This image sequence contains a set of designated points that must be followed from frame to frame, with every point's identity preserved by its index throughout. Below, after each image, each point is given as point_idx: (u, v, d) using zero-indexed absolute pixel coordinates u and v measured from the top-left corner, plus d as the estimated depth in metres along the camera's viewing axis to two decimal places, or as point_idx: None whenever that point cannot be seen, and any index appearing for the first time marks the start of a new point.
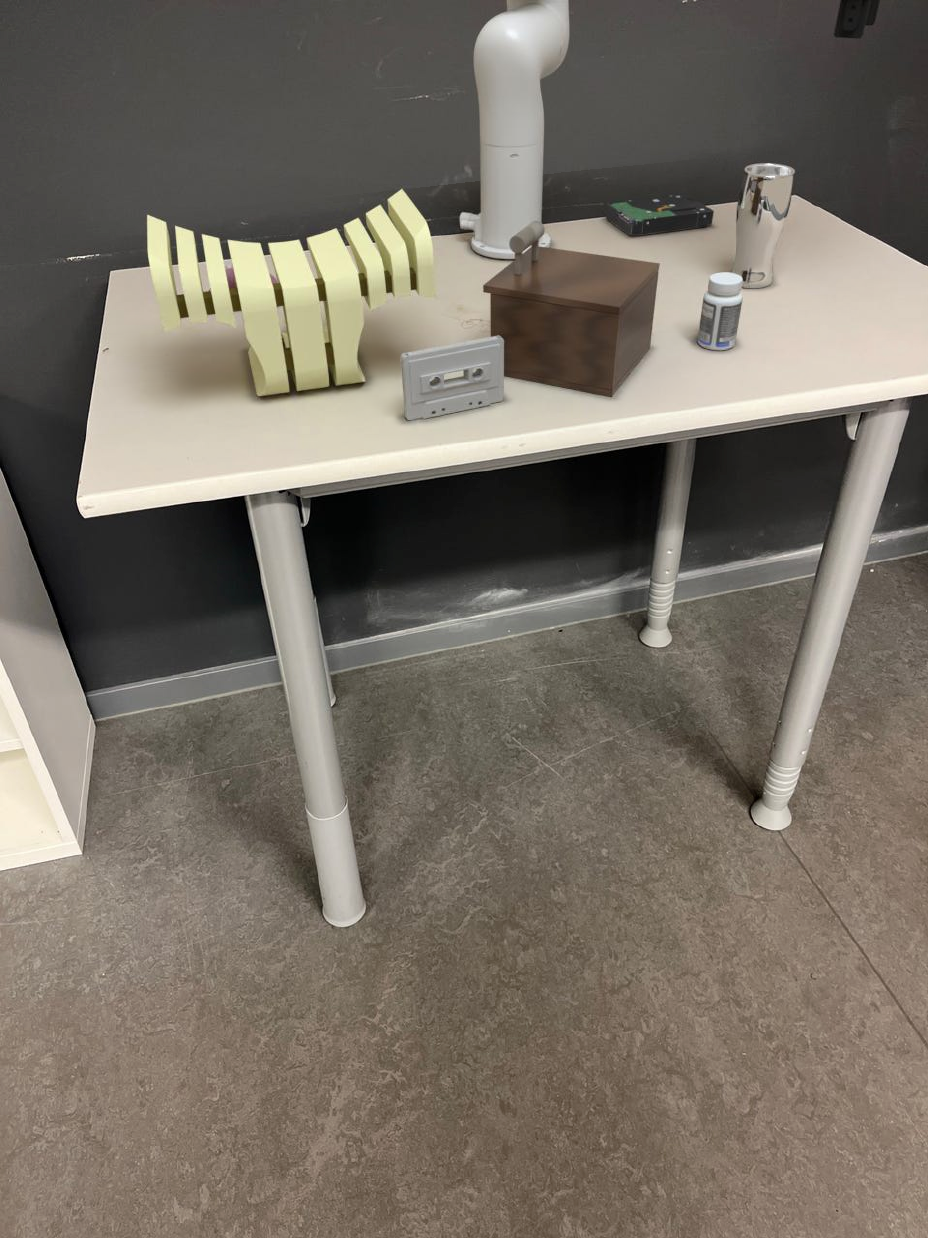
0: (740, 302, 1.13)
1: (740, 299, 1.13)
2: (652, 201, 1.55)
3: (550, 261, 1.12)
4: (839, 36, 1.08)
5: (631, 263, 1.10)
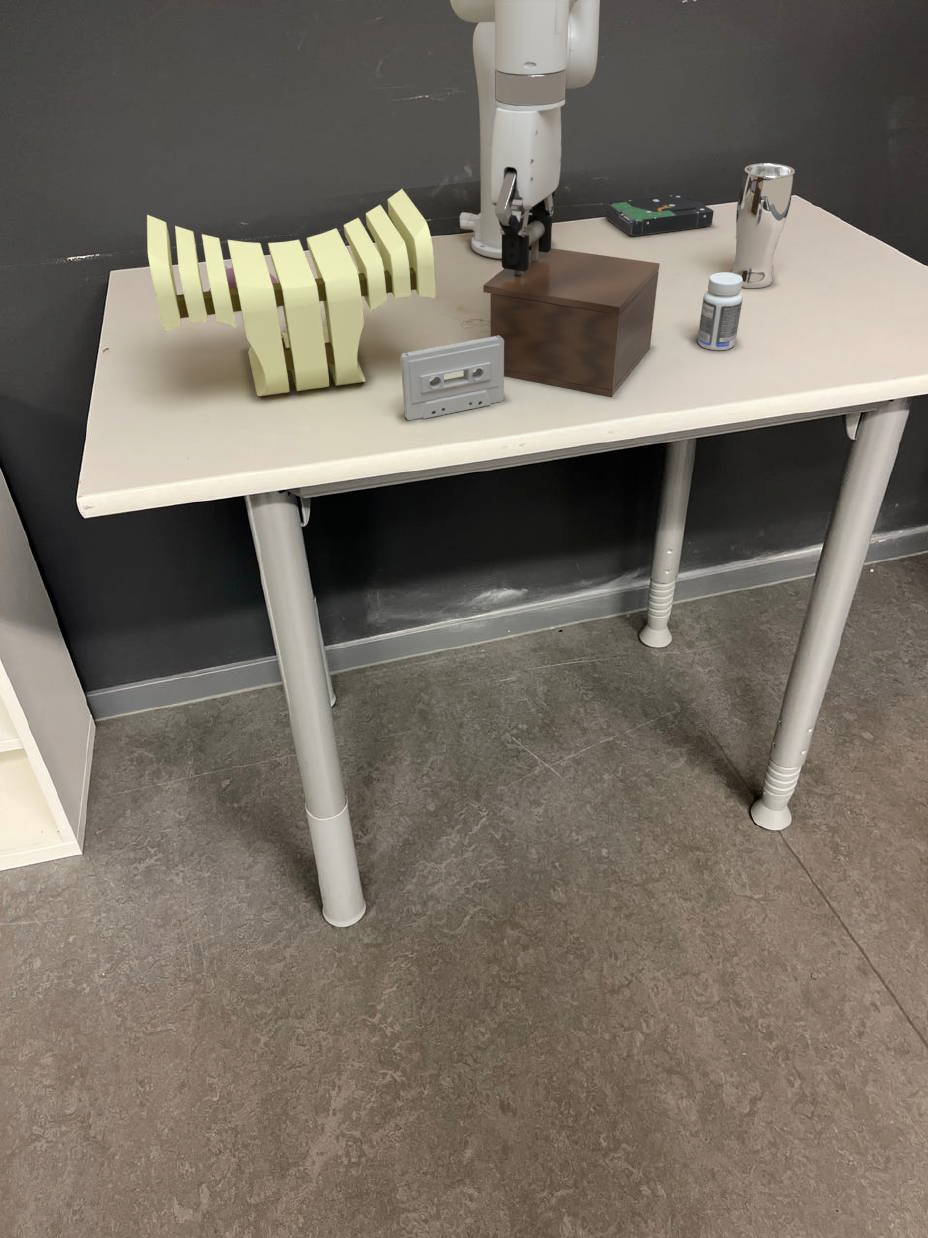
0: (740, 302, 1.13)
1: (740, 299, 1.13)
2: (652, 201, 1.55)
3: (550, 261, 1.12)
4: (506, 268, 1.07)
5: (631, 263, 1.10)
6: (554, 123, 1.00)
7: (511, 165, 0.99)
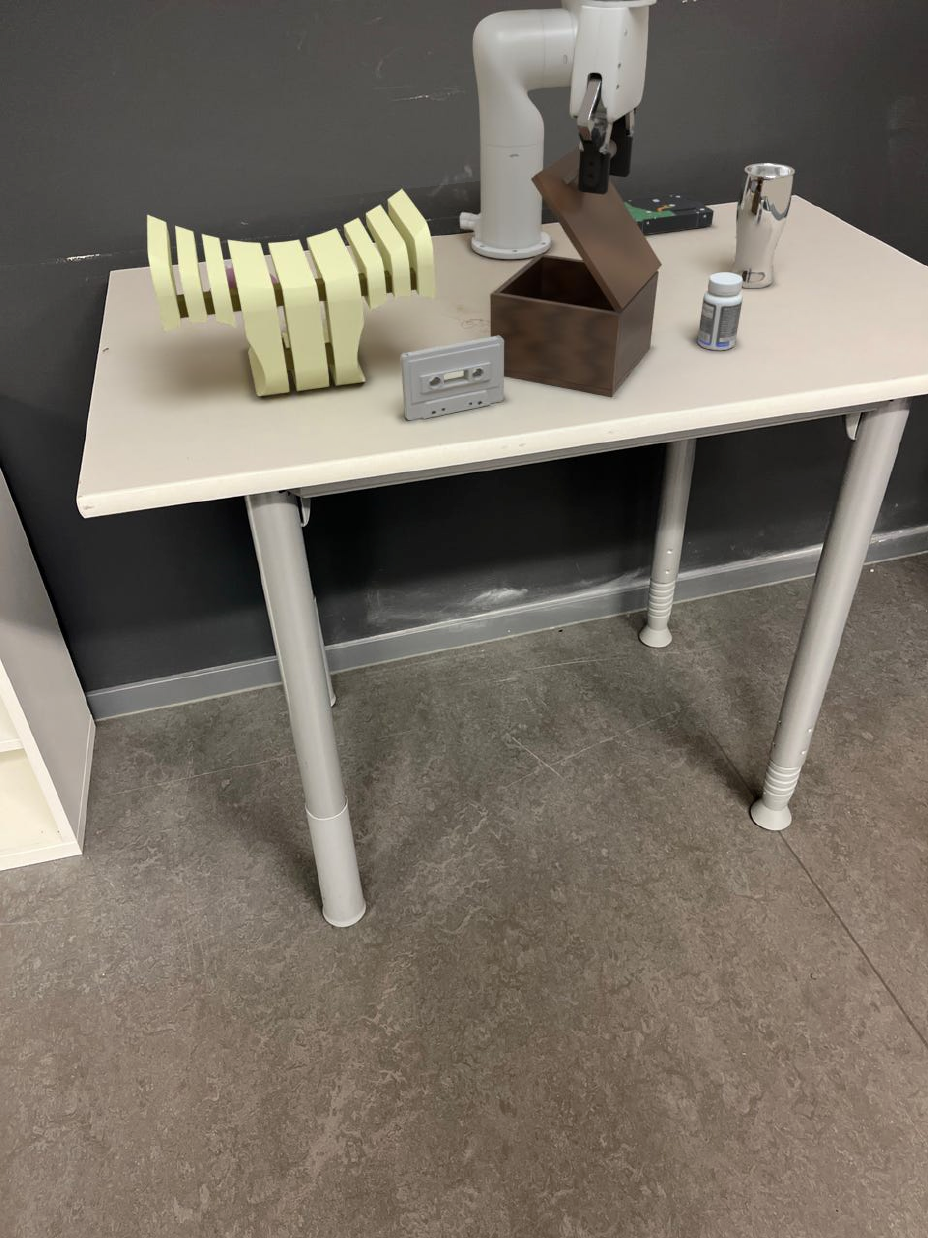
0: (740, 302, 1.13)
1: (740, 299, 1.13)
2: (652, 201, 1.55)
3: None
4: (583, 191, 0.98)
5: (644, 245, 1.08)
6: (643, 25, 0.91)
7: (596, 70, 0.90)
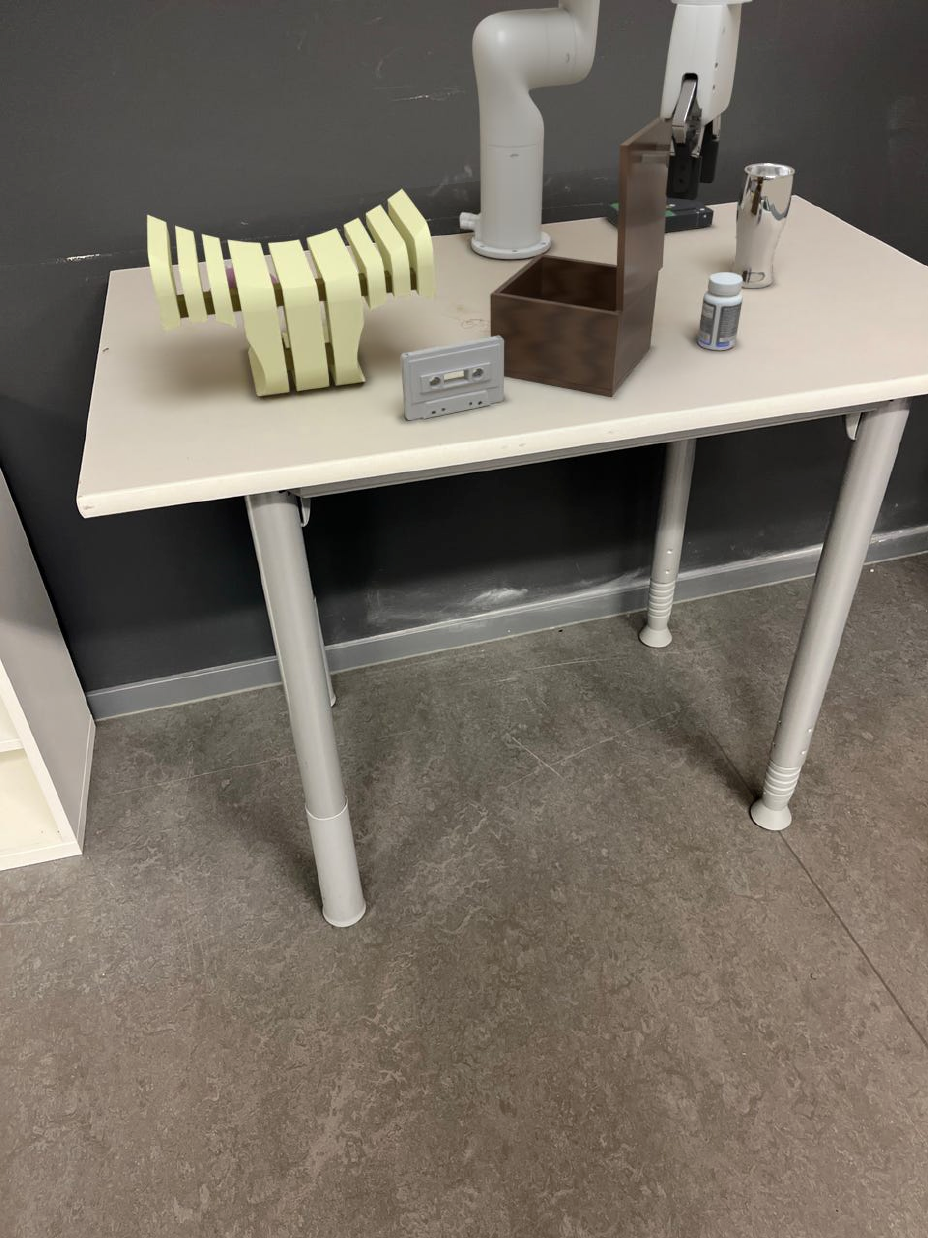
0: (740, 302, 1.13)
1: (740, 299, 1.13)
2: None
3: (657, 165, 1.00)
4: (671, 197, 0.95)
5: (660, 243, 1.07)
6: (737, 24, 0.88)
7: (692, 70, 0.86)
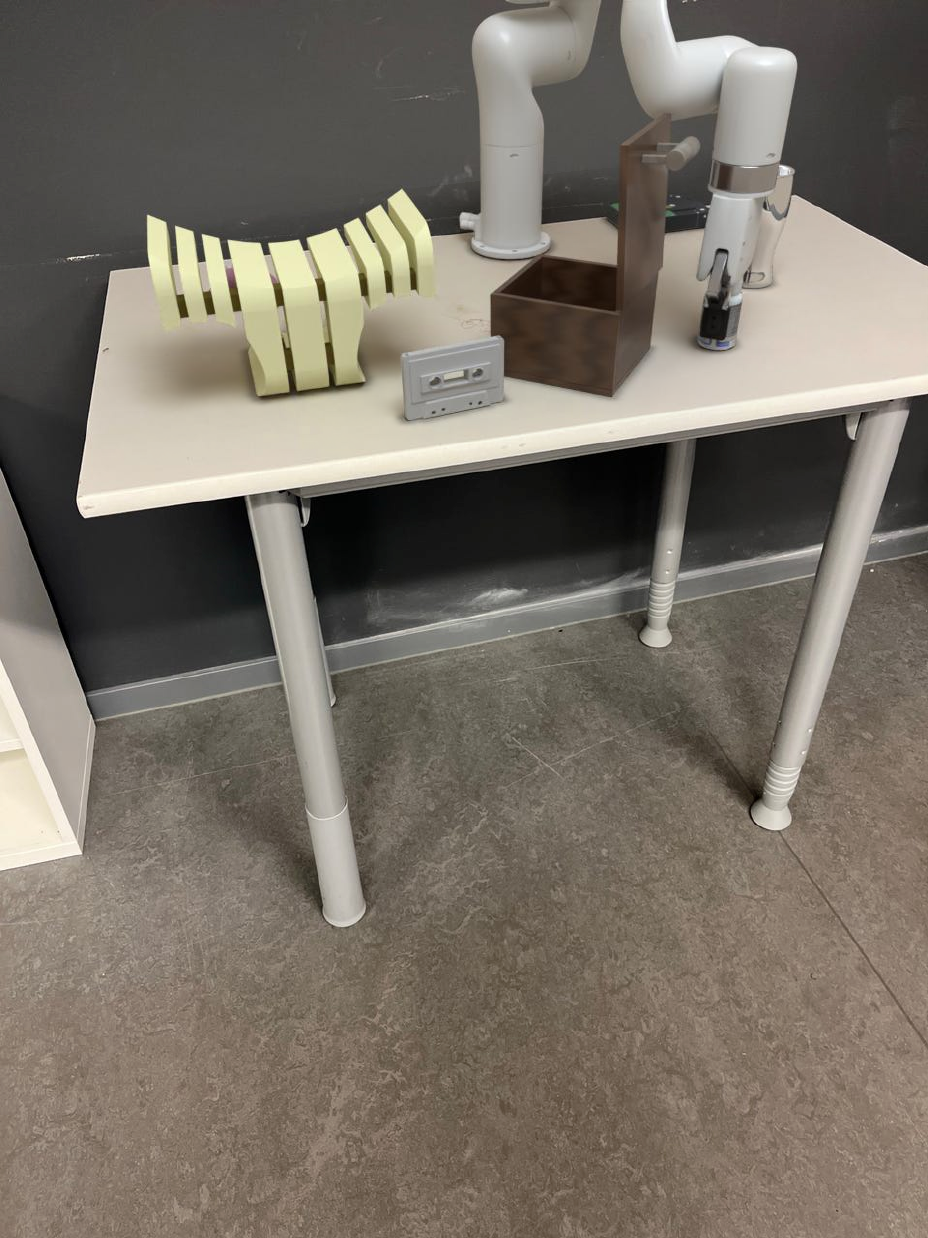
0: (740, 302, 1.13)
1: (740, 299, 1.13)
2: None
3: (657, 165, 1.00)
4: (704, 337, 1.15)
5: (660, 243, 1.07)
6: (761, 206, 1.07)
7: (723, 247, 1.06)
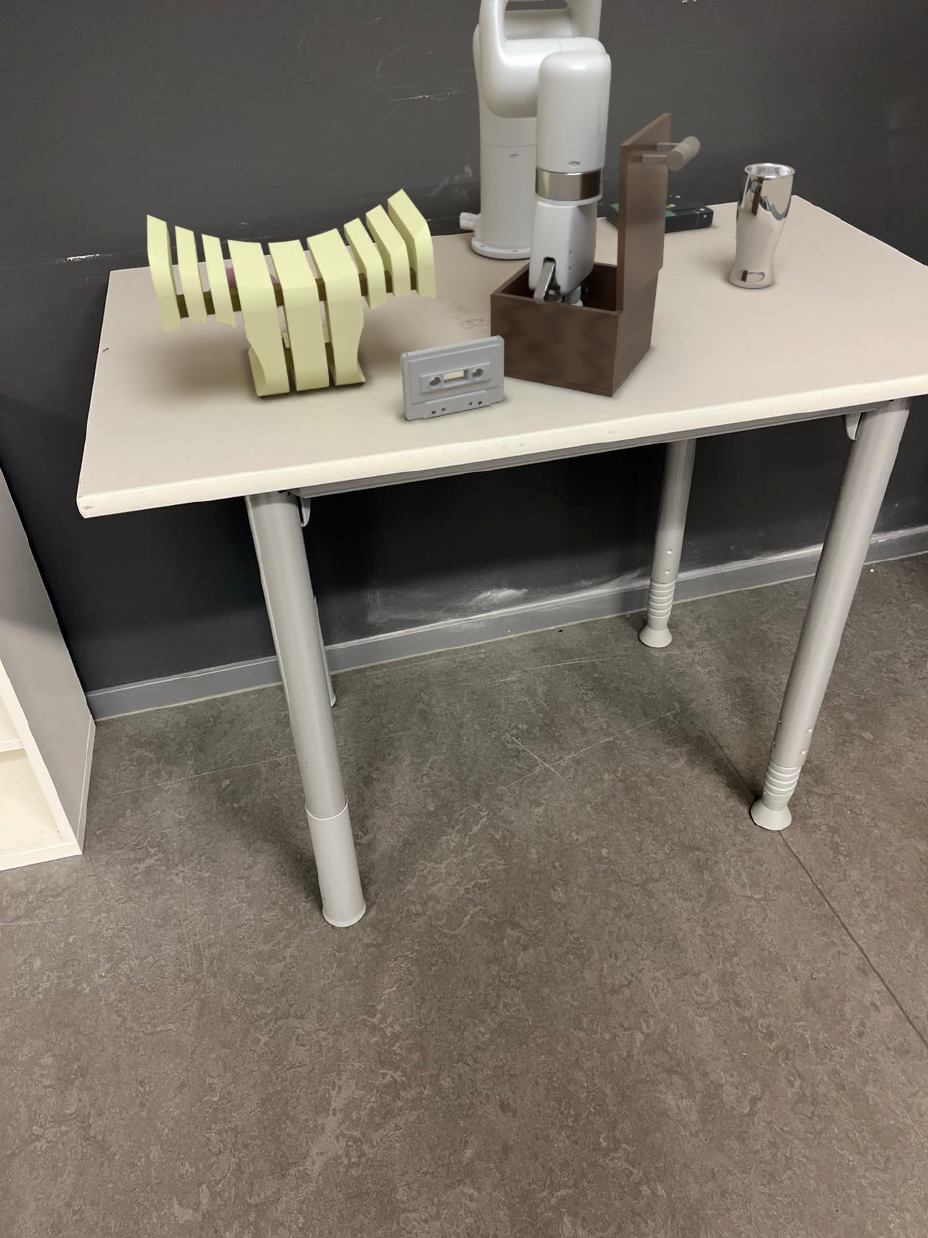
0: None
1: None
2: None
3: (657, 165, 1.00)
4: None
5: (660, 243, 1.07)
6: (591, 214, 1.04)
7: (550, 255, 1.03)
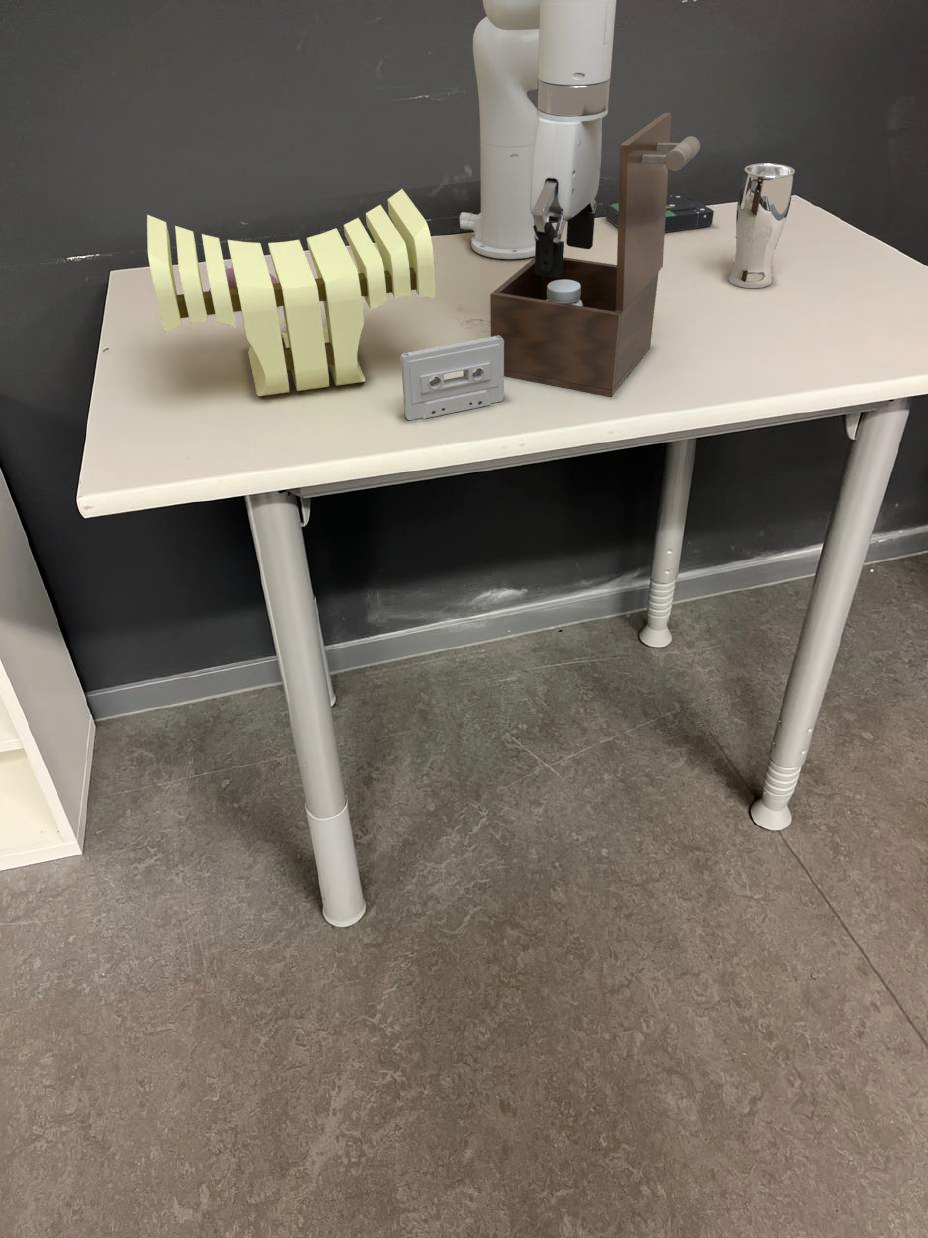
0: None
1: None
2: None
3: (657, 165, 1.00)
4: (540, 274, 1.05)
5: (660, 243, 1.07)
6: (596, 133, 0.99)
7: (553, 176, 0.98)
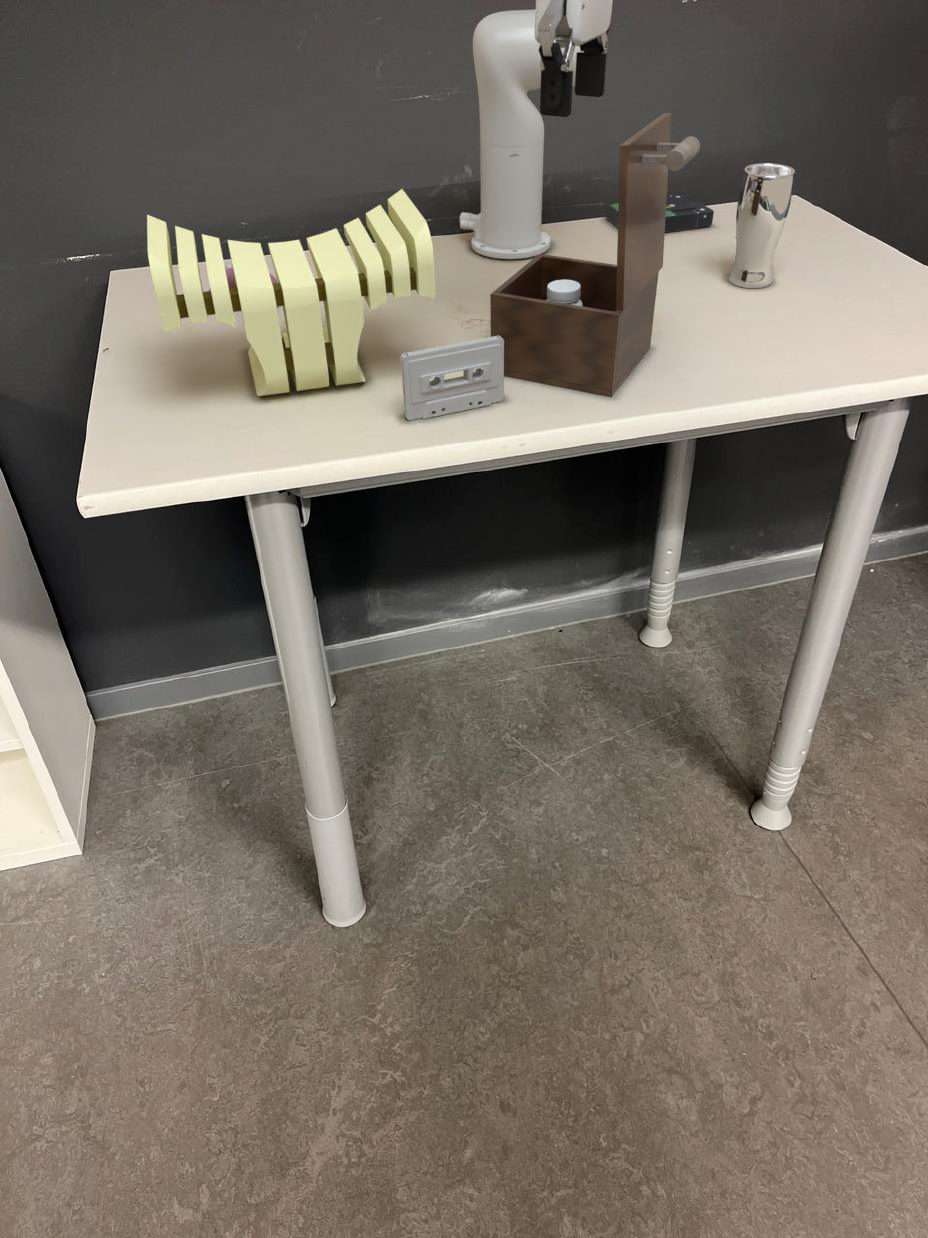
0: None
1: None
2: None
3: (657, 165, 1.00)
4: (546, 114, 0.94)
5: (660, 243, 1.07)
6: None
7: None
